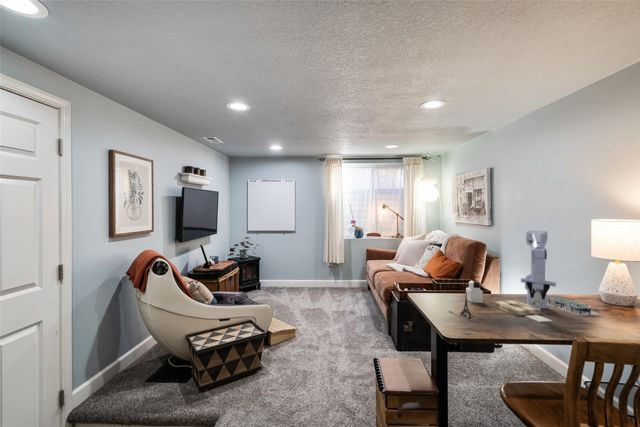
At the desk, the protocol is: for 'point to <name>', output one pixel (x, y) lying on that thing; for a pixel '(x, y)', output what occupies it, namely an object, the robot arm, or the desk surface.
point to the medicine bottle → (474, 292)
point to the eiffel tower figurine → (464, 310)
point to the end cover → (537, 297)
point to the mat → (538, 318)
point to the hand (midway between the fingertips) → (537, 298)
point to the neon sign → (573, 307)
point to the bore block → (516, 307)
